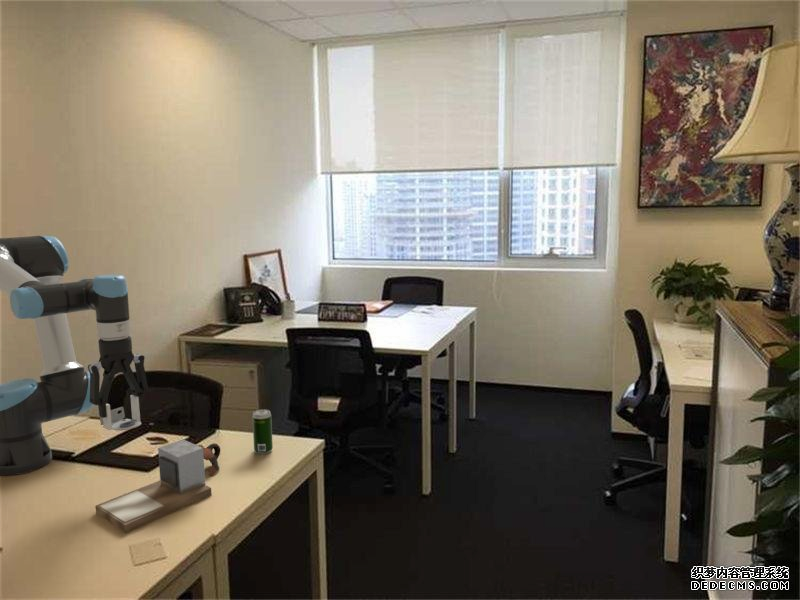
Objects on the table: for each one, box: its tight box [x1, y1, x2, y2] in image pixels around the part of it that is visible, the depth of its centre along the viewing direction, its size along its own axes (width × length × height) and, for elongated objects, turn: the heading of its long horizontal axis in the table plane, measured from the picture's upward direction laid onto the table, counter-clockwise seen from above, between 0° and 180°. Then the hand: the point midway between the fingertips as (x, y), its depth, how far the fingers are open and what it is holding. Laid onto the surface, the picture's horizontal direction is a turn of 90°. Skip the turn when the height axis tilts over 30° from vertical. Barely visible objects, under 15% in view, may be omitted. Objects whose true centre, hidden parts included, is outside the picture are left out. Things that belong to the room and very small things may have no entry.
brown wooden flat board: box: [95, 479, 212, 534], centre depth 152 cm, size 14×22×2 cm, turn 141°
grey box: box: [157, 439, 206, 495], centre depth 157 cm, size 9×8×10 cm
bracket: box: [98, 406, 142, 431], centre depth 158 cm, size 7×10×4 cm, turn 56°
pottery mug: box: [197, 443, 221, 477], centre depth 171 cm, size 12×10×8 cm
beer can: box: [252, 409, 274, 455], centre depth 182 cm, size 5×5×12 cm
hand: (122, 424), depth 159 cm, fingers closed on bracket, 7 cm apart
